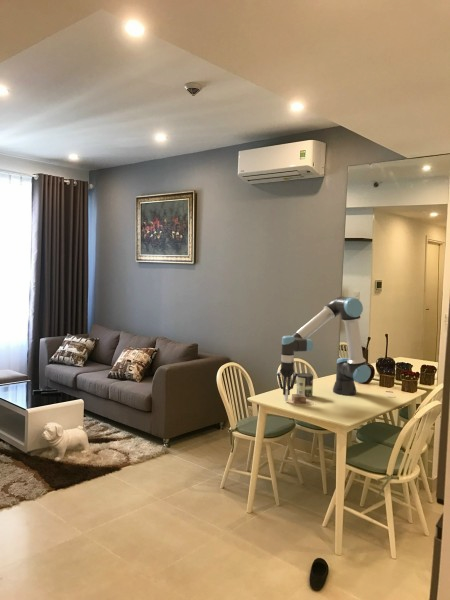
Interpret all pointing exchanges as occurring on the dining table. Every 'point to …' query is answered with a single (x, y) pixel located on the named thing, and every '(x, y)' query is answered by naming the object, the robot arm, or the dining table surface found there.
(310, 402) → the letter
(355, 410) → the dining table surface
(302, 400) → the walnut block
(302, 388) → the coffee can
